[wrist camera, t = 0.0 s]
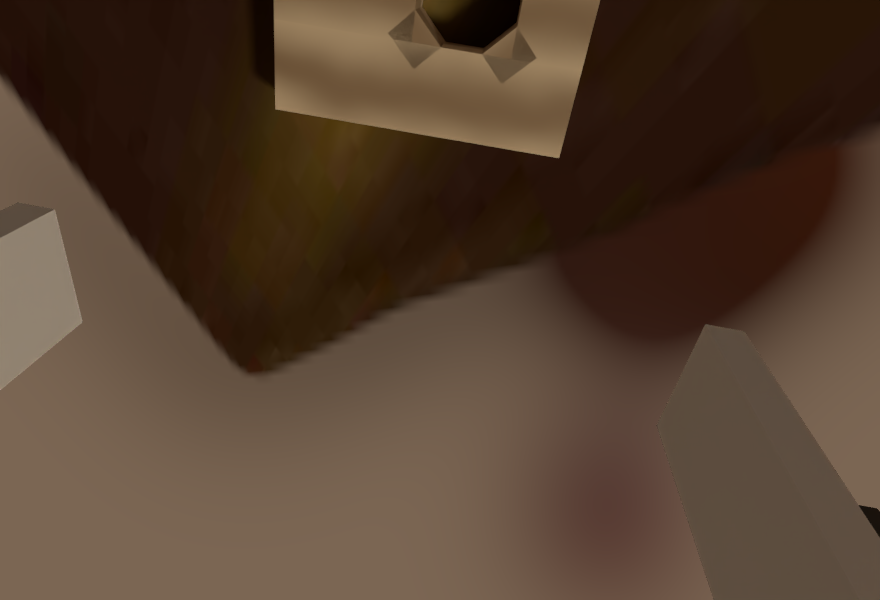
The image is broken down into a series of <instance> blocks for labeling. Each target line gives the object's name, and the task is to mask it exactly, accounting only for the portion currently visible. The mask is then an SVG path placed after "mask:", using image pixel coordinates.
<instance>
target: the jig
mask: <svg viewBox="0 0 880 600" xmlns="http://www.w3.org/2000/svg"><path fill="white" fill-rule="evenodd" d="M599 3H600V0H521V2H520V7H519V13H518V18H517V23H515V24H514V25H513V26H511V27H510V28H509V29H508V30H506V31H505V32H504V33H502V34H501V35H500V36H499V37H497V38H496V39H495V40H494V41H492V42H491V43H490V44H488V45H487V46H486V47H485V48H481V47H475V46H469V45H463V44H457V43H451V42H446V41H445V40H444V38H443V37H442V35H441V34H440V32H439V31H438V29H437V28H436V26H435V25H434V23H433V22H432V20H431V19H430V17H429V16H428V14H427V13H426V11H425V10H424V8H423V7H422V4H423V0H274V50H275V109H278V110H283V111H289V112H295V113H301V114H307V115H312V116H318V117H324V118H330V119H335V120H341V121H347V122H353V123H359V124H364V125H370V126H376V127H382V128H388V129H393V130H399V131H405V132H411V133H416V134H422V135H428V136H434V137H440V138H445V139H451V140H457V141H463V142H469V143H474V144H480V145H486V146H492V147H497V148H503V149H509V150H515V151H521V152H526V153H532V154H538V155H544V156H550V157H555V158H559V156H560V152H561V148H562V145H563V141H564V137H565V133H566V129H567V125H568V122H569V118H570V114H571V110H572V106H573V102H574V99H575V95H576V91H577V87H578V83H579V79H580V76H581V72H582V68H583V64H584V60H585V56H586V53H587V49H588V45H589V41H590V37H591V33H592V30H593V26H594V22H595V18H596V14H597V10H598V7H599Z"/></svg>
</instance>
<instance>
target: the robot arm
mask: <svg viewBox="0 0 880 600" xmlns="http://www.w3.org/2000/svg"><path fill="white" fill-rule="evenodd" d="M81 323H82V318H81V314H80V310H79V306H78V302H77V298H76V293H75V290H74V286H73V281H72V278H71V273H70V269H69V265H68V262H67V258H66V253H65V249H64V245H63V241H62V237H61V233H60V228H59V224H58V220H57V216H56V212H55V209H50V208H44V207H39V206H34V205H28V204H22V203H16V204H14V205H12V206H9V207H8V208H5V209H3V210H1V211H0V390H1V389H2V388H3V387H5V386H6V385H7V384H8V383H9V382H11V381H12V380H13V379H14V378H15V377H17V376H18V375H19V374H20V373H22V372H23V371H24V370H25V369H26V368H27V367H29V366H30V365H31V364H32V363H34V362H35V361H36V360H37V359H38V358H40V357H41V356H42V355H43V354H44V353H46V352H47V351H48V350H49V349H51V348H52V347H53V346H54V345H55V344H57V343H58V342H59V341H60V340H61V339H63V338H64V337H65V336H66V335H67V334H69V333H70V332H71V331H72V330H74V329H75V328H76V327H77V326H78V325H80V324H81ZM657 428H658V431H659V435H660V438H661V441H662V443H663V447H664V450H665V453H666V456H667V459H668V462H669V465H670V468H671V471H672V474H673V477H674V480H675V483H676V486H677V489H678V493H679V496H680V499H681V501H682V505H683V507H684V511H685V514H686V517H687V520H688V523H689V526H690V529H691V532H692V535H693V538H694V541H695V544H696V547H697V550H698V554H699V557H700V559H701V563H702V566H703V569H704V572H705V575H706V578H707V581H708V584H709V587H710V590H711V593H712V596H713V599H714V600H880V511H879V510H878V509H877V508H871V507H866V506H860V505H858V504H857V502H856V501H855V499H854V498H853V496H852V495H851V493H850V492H849V491H848V489H847V487H846V486H845V484H844V483H843V481H842V480H841V478H840V477H839V475H838V473H837V472H836V470H835V469H834V467H833V466H832V465H831V463H830V461H829V460H828V458H827V457H826V455H825V454H824V452H823V451H822V449H821V448H820V446H819V444H818V443H817V442H816V440H815V438H814V437H813V435H812V434H811V432H810V431H809V429H808V428H807V426H806V425H805V423H804V422H803V420H802V419H801V417H800V416H799V414H798V412H797V411H796V410H795V408H794V406H793V405H792V403H791V402H790V400H789V399H788V398H787V396H786V394H785V393H784V392H783V390H782V388H781V387H780V385H779V384H778V382H777V381H776V379H775V377H774V376H773V374H772V373H771V371H770V370H769V368H768V367H767V365H766V364H765V362H764V361H763V359H762V358H761V356H760V355H759V353H758V352H757V350H756V349H755V347H754V346H753V344H752V342H751V341H750V339H749V338H748V337H747V335H746V333H745V332H744V331H740V330H734V329H728V328H723V327H717V326H711V325H705V326H704V328H703V330H702V332H701V335H700V337H699V339H698V341H697V343H696V345H695V347H694V349H693V351H692V353H691V355H690V357H689V359H688V361H687V363H686V366H685V368H684V370H683V372H682V374H681V376H680V378H679V380H678V382H677V384H676V386H675V388H674V390H673V393H672V395H671V397H670V399H669V401H668V403H667V405H666V407H665V409H664V411H663V413H662V415H661V417H660V419H659V422H658V424H657Z"/></svg>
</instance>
